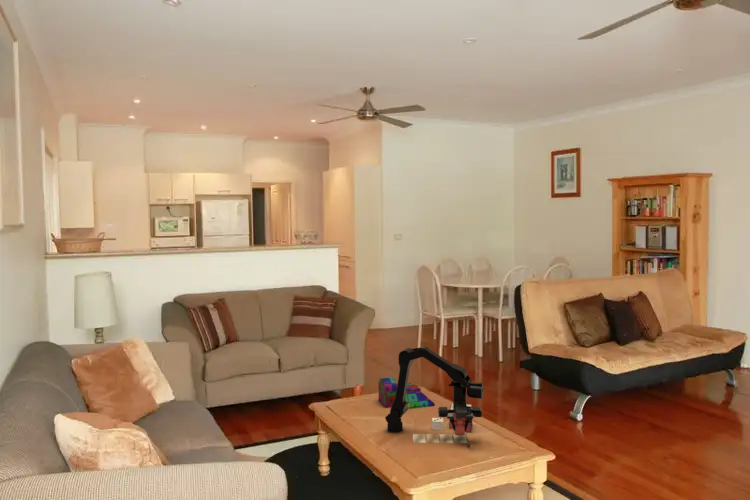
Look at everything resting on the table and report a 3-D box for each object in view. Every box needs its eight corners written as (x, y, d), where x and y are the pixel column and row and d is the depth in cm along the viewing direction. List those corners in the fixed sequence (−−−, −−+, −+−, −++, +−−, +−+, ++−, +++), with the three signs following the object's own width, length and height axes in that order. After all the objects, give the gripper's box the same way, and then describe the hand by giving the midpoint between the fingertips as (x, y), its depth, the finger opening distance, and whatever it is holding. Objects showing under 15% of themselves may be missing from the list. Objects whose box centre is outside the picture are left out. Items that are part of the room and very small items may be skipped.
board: (411, 446, 273) (411, 443, 273) (410, 435, 285) (410, 433, 284) (469, 446, 272) (469, 443, 271) (466, 436, 284) (466, 433, 283)
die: (432, 432, 289) (432, 420, 288) (432, 428, 294) (432, 417, 293) (443, 432, 288) (443, 420, 288) (442, 428, 293) (442, 417, 293)
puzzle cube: (471, 432, 288) (471, 411, 287) (449, 431, 290) (449, 410, 289) (472, 425, 297) (472, 404, 297) (451, 423, 299) (451, 403, 299)
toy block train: (389, 411, 318) (388, 384, 317) (378, 401, 334) (378, 375, 333) (434, 406, 325) (434, 379, 324) (422, 396, 341) (422, 371, 340)
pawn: (455, 435, 275) (455, 419, 275) (454, 431, 280) (454, 415, 279) (465, 435, 275) (465, 419, 274) (464, 431, 279) (464, 415, 279)
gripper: (439, 402, 268) (439, 437, 270) (483, 402, 268) (483, 437, 269) (438, 394, 280) (438, 428, 281) (480, 394, 279) (480, 428, 280)
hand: (459, 430), depth 277 cm, fingers closed on pawn, 4 cm apart
